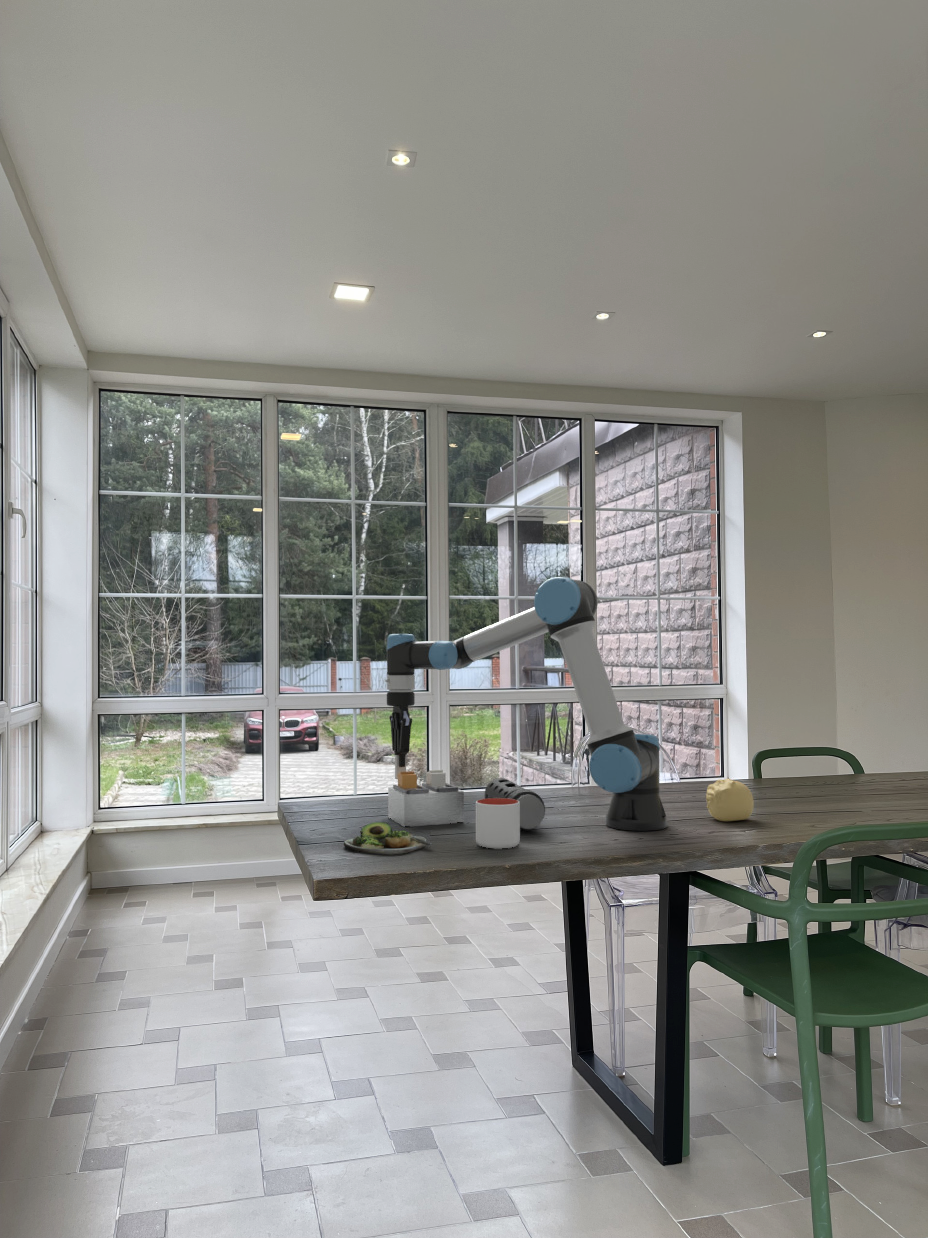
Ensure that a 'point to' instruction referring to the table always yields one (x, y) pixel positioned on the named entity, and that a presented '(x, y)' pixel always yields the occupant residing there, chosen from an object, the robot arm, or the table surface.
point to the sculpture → (729, 800)
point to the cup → (497, 823)
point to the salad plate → (384, 840)
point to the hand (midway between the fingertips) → (400, 778)
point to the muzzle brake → (529, 801)
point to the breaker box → (425, 805)
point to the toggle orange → (407, 780)
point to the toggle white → (436, 778)
